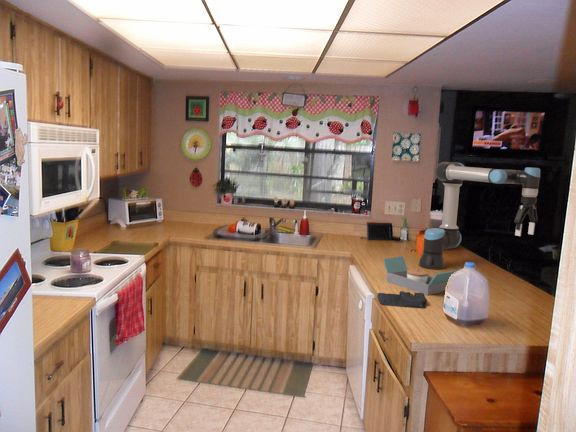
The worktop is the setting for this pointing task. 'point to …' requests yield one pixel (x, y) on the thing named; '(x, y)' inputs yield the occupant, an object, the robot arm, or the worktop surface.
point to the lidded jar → (417, 275)
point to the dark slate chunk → (403, 300)
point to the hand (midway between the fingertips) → (524, 235)
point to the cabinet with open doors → (399, 277)
